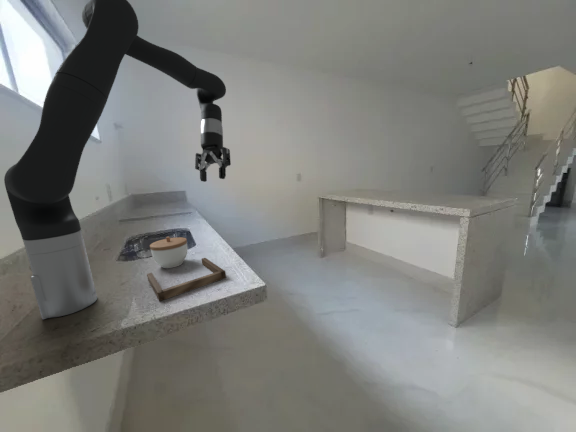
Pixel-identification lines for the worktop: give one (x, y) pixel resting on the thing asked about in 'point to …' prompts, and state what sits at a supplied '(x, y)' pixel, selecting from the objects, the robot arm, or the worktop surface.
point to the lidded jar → (169, 251)
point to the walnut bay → (187, 286)
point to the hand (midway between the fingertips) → (212, 180)
